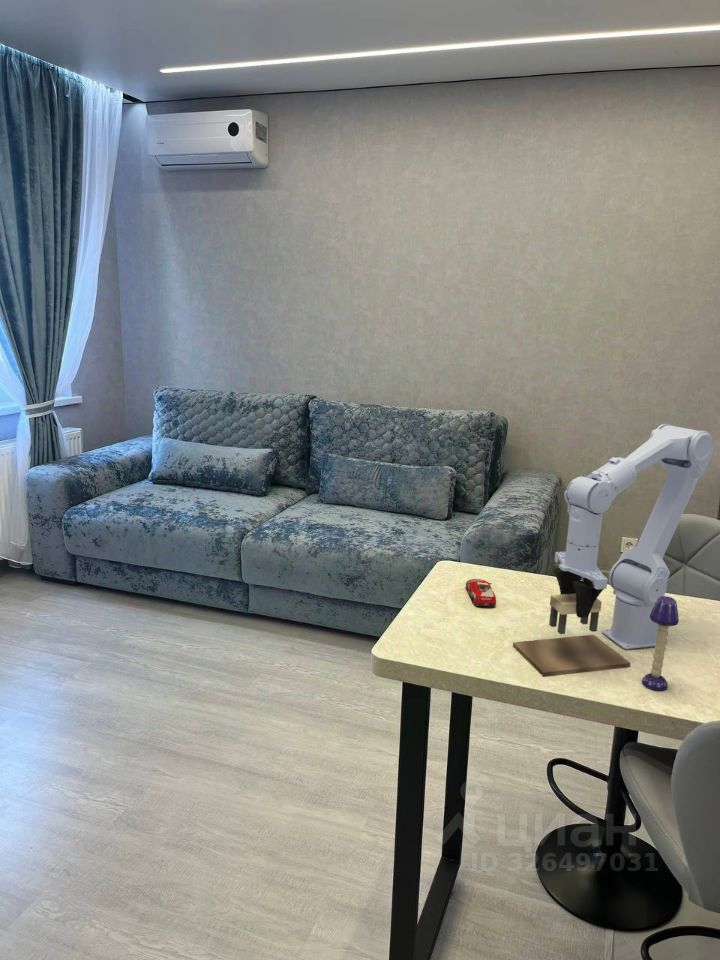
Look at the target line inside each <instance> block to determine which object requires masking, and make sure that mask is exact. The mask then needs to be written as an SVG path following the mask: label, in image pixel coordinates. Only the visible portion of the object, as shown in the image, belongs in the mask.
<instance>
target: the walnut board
mask: <svg viewBox="0 0 720 960" xmlns="http://www.w3.org/2000/svg"><path fill="white" fill-rule="evenodd" d="M512 647H513V648H514V649H515V650H516V651H517V652H518V653H519V654H520V655H521V656H522V657H523V658H524V659H525V660H526V661H527V662H528V663H529V664H530V665H531V666H532V667H533V668H534V669H535V670H536V671H537V672H538V673H539V674H540V675H541V676H542V677H551V676H557V675H561V676H562V675H567V674H568V675H569V674H570V675H571V674H579V673H589V672H594V671H605V670H612V669H613V670H614V669H621V668H622V669H624V668H630V667H631V662H630V661H629V660H627V659H626V658H625V657H624V656H622V655H621V654H620V653H618V652H617V651H615V649H613V648H612V647H611V646H609V645H608V644H607V643H605V642H604V641H603V640H602V639H601V638H599V637H598V636H597V635H595V634H587V635H586V634H585V635H578V636H577V635H576V636H565V637H557V638H554V637H553V638H547V639H546V638H544V639H537V640H536V639H535V640H525V641H524V640H523V641H513V643H512Z"/></svg>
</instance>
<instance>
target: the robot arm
mask: <svg viewBox="0 0 720 960" xmlns="http://www.w3.org/2000/svg"><path fill="white" fill-rule="evenodd" d="M713 452H714V442H713V439H712V436H711V434H710V433H709V432H708V431H706V430H698V429H697V430H696V429H691V428H686V427H681V426H675V425H672V424H669V423H661V424H660V425H659V426H658V427H656V428H655V429H652V430H651V433H650V435H649V438H648V440H647V441H645V442H644V443H643V444H642V445H640V446H639V447H638V448H636V449H635V450H634V451H633V452H631V453H630V454H629V455H628V456H627V457H625V458H624V457H619V456H618V457H615V456H613V457H611V458H610V459H608V462H607V463H604V464H603V465H602V466H600V467H599V468H597V469H596V470H594V471H591V473H589V474H588V475H587V476H577V477H576V478H573V479H572V480H571V481H570V482H569V483H568V485H567V487H566V490H565V491H564V493H563V494H564V495H563V496H564V500H565V502H566V504H567V511H566V512H567V513H568V515H569V518H568V526H567V535H566V536H567V538H566V543H565V544H566V546H565V551H556V552H555V553H554V562H555V563H556V564H558V567H555V568H554V569H553V574H554V575H555V577H556V581H557V583H558V587H559V591H560V594H575V593H576V617H577V618H580V619H581V617H588V618H589V616H590V615H591V613H590V611H591V609H592V606H593V604H594V602H595V600H596V599H598V597H599V595H601V593H602V592H603V590H606V589H607V588H608V584H609V586H610V587H611V588H612V589H613V591H612V592H613V593H612V594H613V595H614V596H615V601H614V609H613V616H612V624H611V628H607V629H602V630H601V633H602V634H604V636H606V637H608V639H610V640H611V641H613V642H614V643H616V644H617V645H618V646H619V647H620V648H622V649H623V650H632V649H641V648H652V647H655V645H656V638H657V636H658V635H657V630H658V629H659V627H658V624H657V623H655V622H653V621H652V620H651V619H650V614H651V611H652V609H653V607H654V605H655V603H656V601H657V599H658V598H659V597H661V596H665V595H666V592H667V586H668V580H669V577H670V575H671V572H670V570H669V568H668V565H667V564H666V562H665V561H664V557H665V554H666V551H667V549H668V547H669V545H670V543H671V540H672V538H673V536H674V534H675V532H676V529H677V527H678V526H679V523H680V521H681V519H682V516H683V514H684V512H685V511H686V510H685V509H686V507H687V505H688V504H689V503H688V502H689V501H690V499H691V496H692V494H693V492H694V490H695V487H696V486H697V483H698V480H699V479H700V478H701V477H703V475H704V472H705V471H706V469H707V465H708V464H709V462H710V459H711V457H712V455H713ZM658 462H659V464H660V466H661V468H663V469H664V470H665V472H666V475H667V478H666V480H665V481H664V484H663V487H662V489H661V491H660V493H659V495H658V497H657V500H656V502H655V505H654V506H653V509H652V511H651V512H650V516H649V517H648V519H647V522H646V524H645V525H644V529H643V531H642V532H641V536H640V538H639V539H638V542H637V544H636V546H635V547H633V548H631V549H628V550H625V551H623V552H622V553H621V555H620V556H619V558H618V560H617V561H616V562H615V564H614V565H612V567H611V568H610V571H609V574H608V575H609V576H608V578H607V577H606V576H605V575H604V574H603V572H602V571H601V570H600V568H599V567H598V558H599V548H600V539H601V533H602V523H603V514H604V512H607V511H608V509H609V508H610V507H611V504H612V502H613V500H615V499H616V497H617V495H618V494H620V493H622V492H623V491H624V490H625V489H628V488H629V487H630V486H632V485H633V484H634V483H635V482H636V480H637V474H638V473H640V472H642V471H644V470H645V469H647V468H649V467H651V466H653V465H654V464H656V463H658ZM641 566H643V567H641ZM644 567H645V568H644ZM647 568H649V569H650V570H649V569H647ZM608 582H609V583H608Z"/></svg>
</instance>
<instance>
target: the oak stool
mask: <svg viewBox="0 0 720 960" xmlns="http://www.w3.org/2000/svg"><path fill="white" fill-rule="evenodd" d="M602 602H603V601H601V600H600V599H599V598H597V599H596V600H595V602H594V604H593V606H592V609H591V611H590V618H589V616H588V617H581V618H580V622H579V623H580V624H582V625H588V624H589V626H588V627H589V628H588V630H589V631H590V632H593V633H594V632H597V631H598V623H599V616H600V613H601V611H602ZM549 606H550V611H549V612H550V614H549V624H548V625H549V626H550V627H551V628H555V627H557V633H558V634H559V635H565V634H566V628H567V620H568V619H567V618H568V615H575V614H576V593H575V594H561V593H560V594H551V595H550V600H549ZM558 615H559V616H558ZM576 615H577V614H576ZM589 619H590V620H589Z"/></svg>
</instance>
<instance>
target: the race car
mask: <svg viewBox="0 0 720 960" xmlns="http://www.w3.org/2000/svg"><path fill="white" fill-rule="evenodd" d="M465 589H466V591H467V593H468V594H467V595H469V597H470V600H471V602H472V604H473V605H474V606H476V607H492V608H493V607H496V605H497V597H496V594H495V591H494V590H493V588H492V583H491V582H489V581H487V580H485V579H482V578H481V579H480V578H472V579H468V580H467V581H466V583H465Z"/></svg>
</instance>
